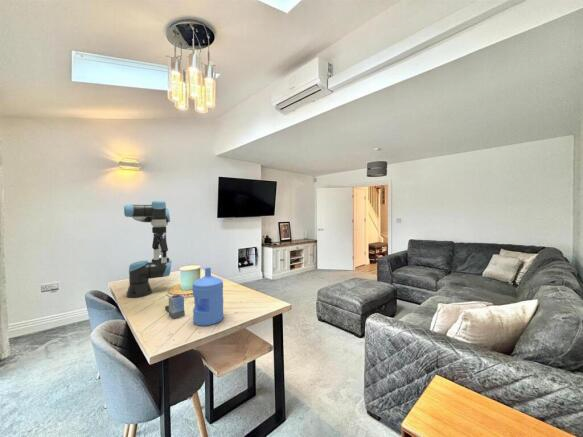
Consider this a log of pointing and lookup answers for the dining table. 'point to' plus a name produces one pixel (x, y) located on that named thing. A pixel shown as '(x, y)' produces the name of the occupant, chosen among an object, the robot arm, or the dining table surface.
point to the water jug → (208, 300)
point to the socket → (176, 303)
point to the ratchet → (175, 315)
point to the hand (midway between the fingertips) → (160, 261)
